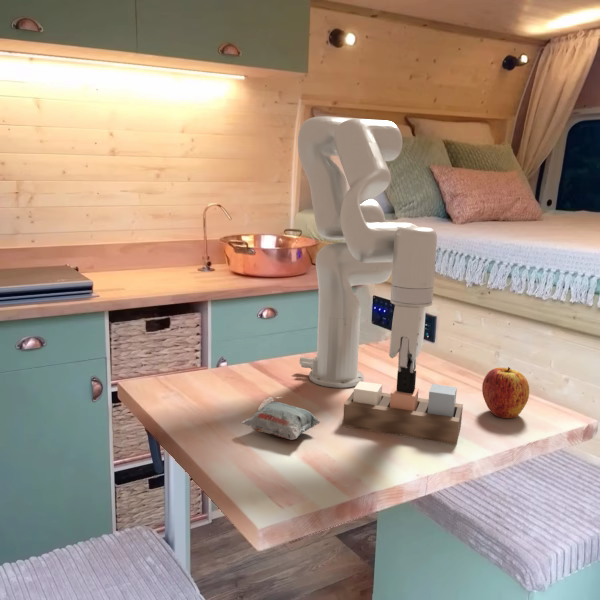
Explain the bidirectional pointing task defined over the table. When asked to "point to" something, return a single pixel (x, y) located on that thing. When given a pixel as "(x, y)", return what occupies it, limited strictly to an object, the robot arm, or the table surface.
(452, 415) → the grey block
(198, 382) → the table surface
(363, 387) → the key cream
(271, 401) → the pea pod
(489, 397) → the apple
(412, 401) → the key terracotta
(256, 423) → the packaged food
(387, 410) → the frame block
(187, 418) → the table surface
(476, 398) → the table surface
